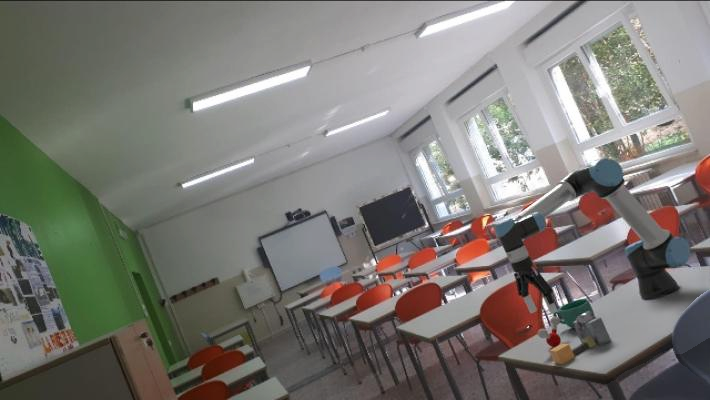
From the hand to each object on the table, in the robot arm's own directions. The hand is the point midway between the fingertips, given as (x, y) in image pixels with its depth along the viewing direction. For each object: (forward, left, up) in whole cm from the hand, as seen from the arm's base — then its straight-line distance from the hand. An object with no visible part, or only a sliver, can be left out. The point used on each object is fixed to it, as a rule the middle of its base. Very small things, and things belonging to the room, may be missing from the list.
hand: (543, 312), depth 213 cm
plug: (-5, 0, -19) cm, 19 cm away
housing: (-15, 0, -19) cm, 24 cm away
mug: (-27, -27, -19) cm, 43 cm away
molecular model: (-9, -18, -19) cm, 27 cm away
